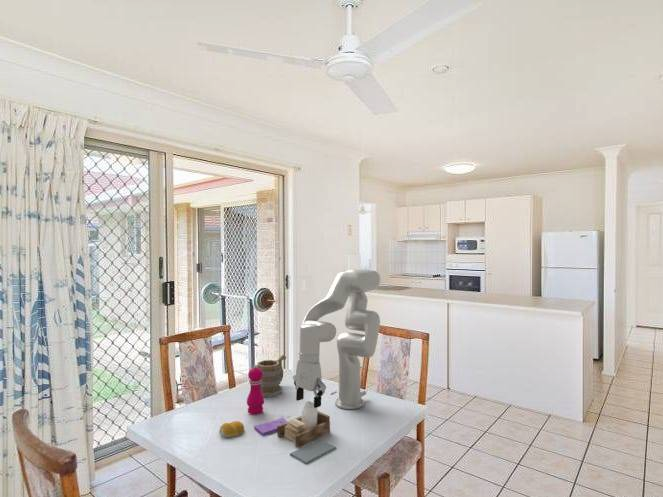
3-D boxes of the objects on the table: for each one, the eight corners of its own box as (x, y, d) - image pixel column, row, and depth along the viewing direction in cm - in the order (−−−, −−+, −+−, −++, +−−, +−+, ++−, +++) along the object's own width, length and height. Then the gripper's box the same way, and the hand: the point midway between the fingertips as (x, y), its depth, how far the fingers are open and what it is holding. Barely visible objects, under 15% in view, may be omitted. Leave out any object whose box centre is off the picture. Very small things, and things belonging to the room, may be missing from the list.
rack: (309, 422, 158) (309, 407, 158) (329, 432, 150) (329, 416, 150) (277, 436, 146) (277, 420, 146) (297, 447, 138) (297, 430, 138)
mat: (319, 440, 143) (319, 438, 143) (336, 448, 138) (336, 446, 138) (290, 455, 133) (290, 453, 133) (306, 464, 128) (306, 462, 128)
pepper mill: (266, 408, 171) (266, 362, 171) (261, 415, 164) (261, 367, 164) (249, 407, 172) (249, 361, 171) (244, 414, 164) (244, 366, 164)
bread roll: (247, 434, 148) (247, 423, 148) (223, 440, 144) (223, 429, 143) (239, 425, 155) (239, 415, 155) (216, 431, 150) (216, 420, 150)
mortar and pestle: (269, 399, 181) (269, 366, 181) (249, 393, 188) (249, 361, 188) (296, 386, 198) (296, 356, 198) (277, 381, 205) (277, 352, 205)
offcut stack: (293, 432, 149) (293, 417, 149) (307, 439, 144) (307, 424, 144) (284, 436, 146) (284, 421, 146) (297, 444, 141) (297, 428, 141)
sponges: (291, 428, 154) (291, 423, 154) (261, 437, 146) (261, 432, 146) (282, 421, 159) (282, 417, 159) (253, 430, 152) (253, 425, 152)
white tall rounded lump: (315, 396, 153) (319, 402, 148) (315, 427, 153) (318, 434, 148) (300, 398, 152) (303, 403, 146) (300, 429, 152) (303, 436, 146)
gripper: (287, 354, 153) (286, 399, 153) (318, 364, 141) (317, 412, 140) (301, 351, 158) (300, 394, 158) (332, 360, 146) (331, 407, 146)
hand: (308, 403), depth 149 cm, fingers open, 9 cm apart
